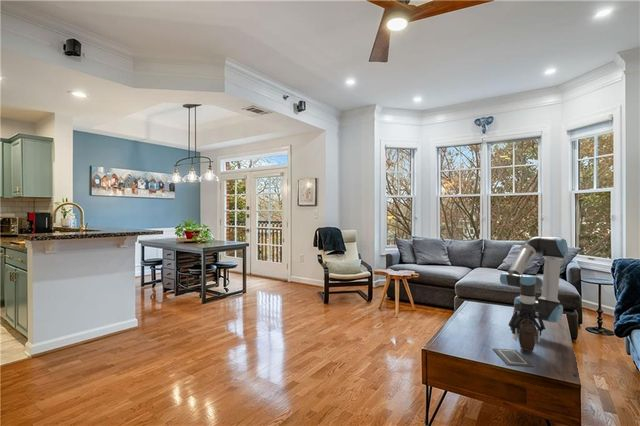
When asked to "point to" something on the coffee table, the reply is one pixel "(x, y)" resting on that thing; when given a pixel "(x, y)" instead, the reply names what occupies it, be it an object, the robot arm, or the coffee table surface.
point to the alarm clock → (527, 335)
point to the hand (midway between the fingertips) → (526, 340)
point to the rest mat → (512, 357)
